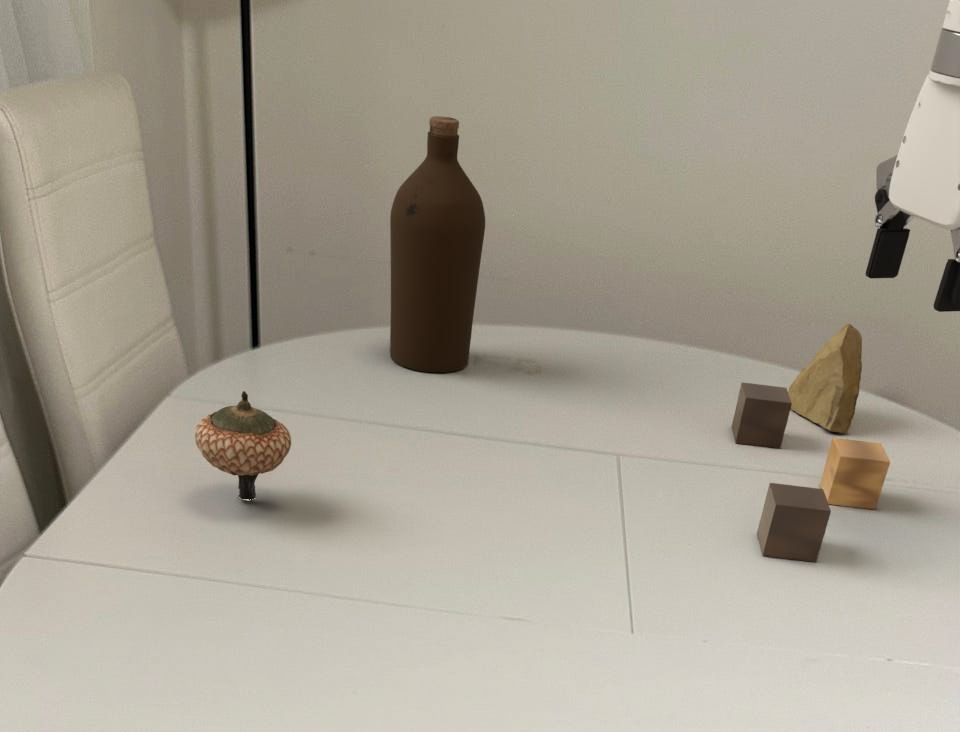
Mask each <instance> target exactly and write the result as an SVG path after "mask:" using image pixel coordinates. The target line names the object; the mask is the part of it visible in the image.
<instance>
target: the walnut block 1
mask: <svg viewBox="0 0 960 732" xmlns="http://www.w3.org/2000/svg"><path fill="white" fill-rule="evenodd" d="M788 391H789V390H788V389H787V387H784V386H775V385H768V384H759V383H752V382H751V383H750V382H741V384H740V388H739V392H738V397H737V400H736V405H735V408H734V409H735V410H734V415H733V419H732V423H731V430H732V434H733V438H734V442H735V444H740V445H748V446H758V447H764V448H765V447H766V448H773V449H781V447H782V444H783V440H784V436H785V432H786V428H787V424H788V420H789V417H790V413H791V410H792V409H791V405H792V402H791V399H790V397H789V394H788Z"/></svg>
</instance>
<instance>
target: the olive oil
mask: <svg viewBox="0 0 960 732" xmlns="http://www.w3.org/2000/svg"><path fill="white" fill-rule="evenodd" d="M428 124H429V131H427V141H426V143H427V144H426V156H425V159H424V160H423V161H422V162H421V163H420V165H418V166H417V167H416V169H414V171H413V172H412V173H411V174H410V175H408V177H407V178H406V179H405V180H404V181H403V182H402V184H401V185H399V188H398V189H397V190H396V193H395V196H394V199H393V202H392V205H391V209H390V216H389V217H390V218H389V220H390V221H389V224H390V225H389V227H390V229H389V230H390V231H389V232H390V235H389V236H390V238H389V239H390V328H389V330H390V332H389V336H390V337H389V357H390V359H391V360H392V361H393V362H394V363H395V364H397V365H398V366H400V367H403V368H406V369H409V370H413V371H419V372H426V373H451V372H456V371H460V370H462V369H464V368H465V367H466V366H468V364H469V360H470V351H471V341H472V332H473V325H474V323H473V322H474V315H475V308H476V307H475V306H476V298H477V291H478V282H479V275H480V270H481V269H480V268H481V262H482V253H483V246H484V239H485V231H486V213H485V208H484V207H485V206H484V204H483V203H484V202H483V200H482V197H481V195H480V193H479V191H478V190H477V188H476V187H475V185H474V184H473V182H472V181H471V179H470V178H469V177H468V174H467V173H466V172H465V170H464V169H463V168H462V166H461V164H460V162H459V159H458V155H459V153H458V152H459V144H460V141H459V140H460V135H459V134H458V132H459V128H460V121H459V120H458V119H457V118H454V117H450V116H441V115H440V116H431V117H430V118H429V123H428Z"/></svg>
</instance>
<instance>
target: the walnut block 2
mask: <svg viewBox="0 0 960 732" xmlns="http://www.w3.org/2000/svg"><path fill="white" fill-rule="evenodd" d="M831 513H832V509H831V507H830V504H828V501H827V499H826V496H825V493H824V490H823V489H821V488H819V487H818V488H816V487H809V486H801V485H794V484H793V485H791V484H785V483H784V484H783V483H775V482H769V484H768V487H767V493H766V496H765V500H764V504H763V508H762V511H761V516H760V520H759V523H758V528H757V531H756V534H757V538H758V543H759V546H760V551H761V554H762V556H763V557H771V558H779V559H787V560H793V561H801V562H802V561H803V562H810V563H817V561H818V558H819V554H820V551H821V547H822V544H823V540H824V538H825V533H826V530H827V527H828V524H829V521H830V516H831Z"/></svg>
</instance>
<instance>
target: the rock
mask: <svg viewBox="0 0 960 732" xmlns="http://www.w3.org/2000/svg"><path fill="white" fill-rule="evenodd" d="M862 342H863V337H862V334H861V333H860V331H859V330H858V329H857V328H856V327H854V326H853V325H852V324H850V323H845V324H844V325H843V327H842V328H841V329H840V330H839V331H838V332H837V333H836V334H834V335H833V336H832V337H831V338H830V340H827V342H826V343H825V344H824V345H823V346H822V348H821V349H820V350H819V351H818V352H817V353H816V354H815V355H814V357H813V358H812V360H811V361H809V364H808V365H806V366H805V367H804V368H803V369H802V370H801V371H800V372H799V373H798V374H797V376H796V377H795V379H793V381H792V382H791V384H790V386H789V387H788V390H787V391H788V394H789V397H790V399H791V402H792V405H791V409H790V410H792V411H794V412H795V413H797V414H798V415H800V416H802V417H803V418H806V419H808V420H809V421H810V422H812V423H814V424H817V425H819V426H821V428H823V429H825V430H826V431H828V432H833V433H840V434H847V432H848V431H849V428H850V427H851V424H852V423H851V422H852V420H853V419H854V416H855V414H856V406H857V401H858V398H859V395H860V383H861V380H862V371H863V362H862V355H863V353H862V352H863V343H862Z"/></svg>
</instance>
